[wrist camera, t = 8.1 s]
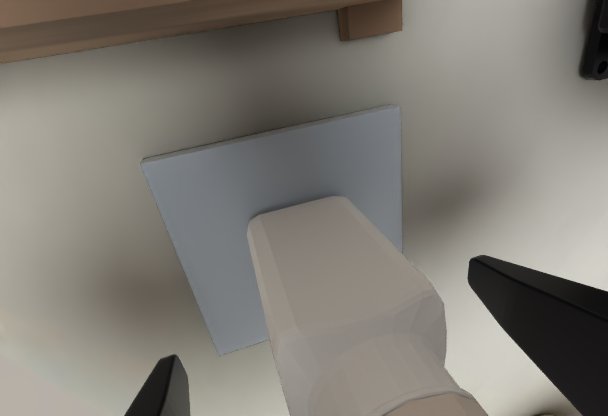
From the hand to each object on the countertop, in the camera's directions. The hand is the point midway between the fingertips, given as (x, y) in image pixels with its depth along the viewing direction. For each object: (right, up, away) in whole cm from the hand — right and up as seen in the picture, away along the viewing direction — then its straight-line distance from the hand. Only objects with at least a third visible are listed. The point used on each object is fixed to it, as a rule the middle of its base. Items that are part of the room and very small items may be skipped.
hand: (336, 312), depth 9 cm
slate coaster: (-1, +2, +4) cm, 5 cm away
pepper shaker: (-1, +2, +4) cm, 4 cm away
